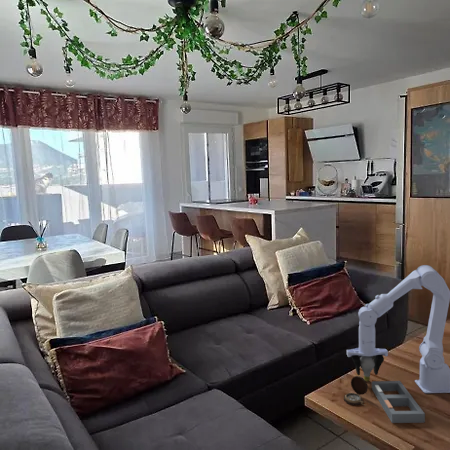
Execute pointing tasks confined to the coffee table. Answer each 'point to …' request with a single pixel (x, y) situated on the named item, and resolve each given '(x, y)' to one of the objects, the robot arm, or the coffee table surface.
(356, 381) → the compass
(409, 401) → the socket block
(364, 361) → the light bulb
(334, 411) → the coffee table surface
